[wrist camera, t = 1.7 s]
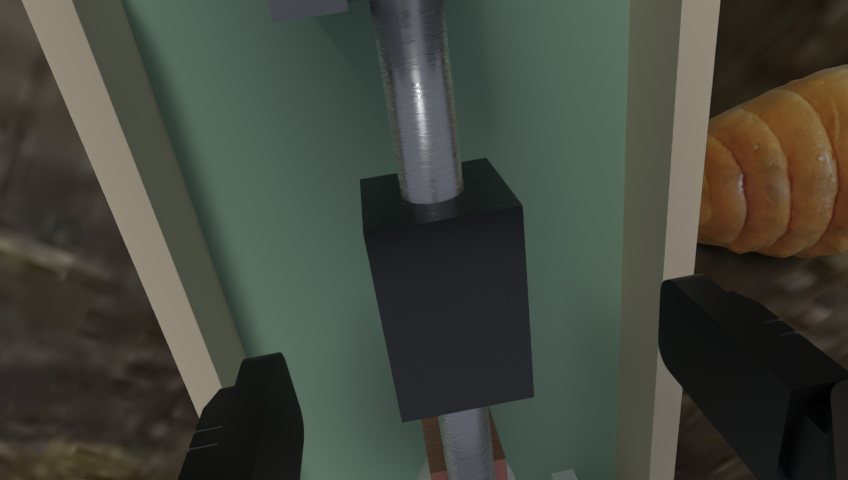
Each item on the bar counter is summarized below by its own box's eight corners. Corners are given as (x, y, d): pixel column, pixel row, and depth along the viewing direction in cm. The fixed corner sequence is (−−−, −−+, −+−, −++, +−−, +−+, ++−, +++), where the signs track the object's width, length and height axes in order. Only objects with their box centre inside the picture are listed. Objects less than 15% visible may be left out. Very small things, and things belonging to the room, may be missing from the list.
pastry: (650, 263, 22) (706, 314, 19) (652, 94, 19) (718, 119, 16) (872, 214, 22) (967, 256, 19) (908, 41, 19) (1027, 54, 16)
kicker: (283, -238, 13) (228, -422, 7) (421, -256, 13) (483, -450, 7) (424, 485, 23) (449, 656, 17) (498, 470, 23) (548, 634, 18)
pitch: (89, -27, 15) (-162, -28, 8) (647, -109, 16) (910, -183, 9) (310, 575, 27) (296, 804, 20) (622, 510, 28) (723, 705, 21)
